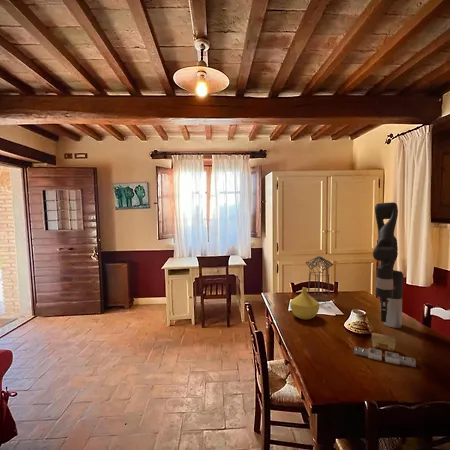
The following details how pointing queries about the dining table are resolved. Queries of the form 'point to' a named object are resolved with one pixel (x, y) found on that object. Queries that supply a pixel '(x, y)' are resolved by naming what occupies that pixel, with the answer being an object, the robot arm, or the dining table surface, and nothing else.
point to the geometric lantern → (319, 276)
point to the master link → (384, 340)
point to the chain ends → (389, 356)
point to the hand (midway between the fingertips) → (383, 318)
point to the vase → (304, 305)
